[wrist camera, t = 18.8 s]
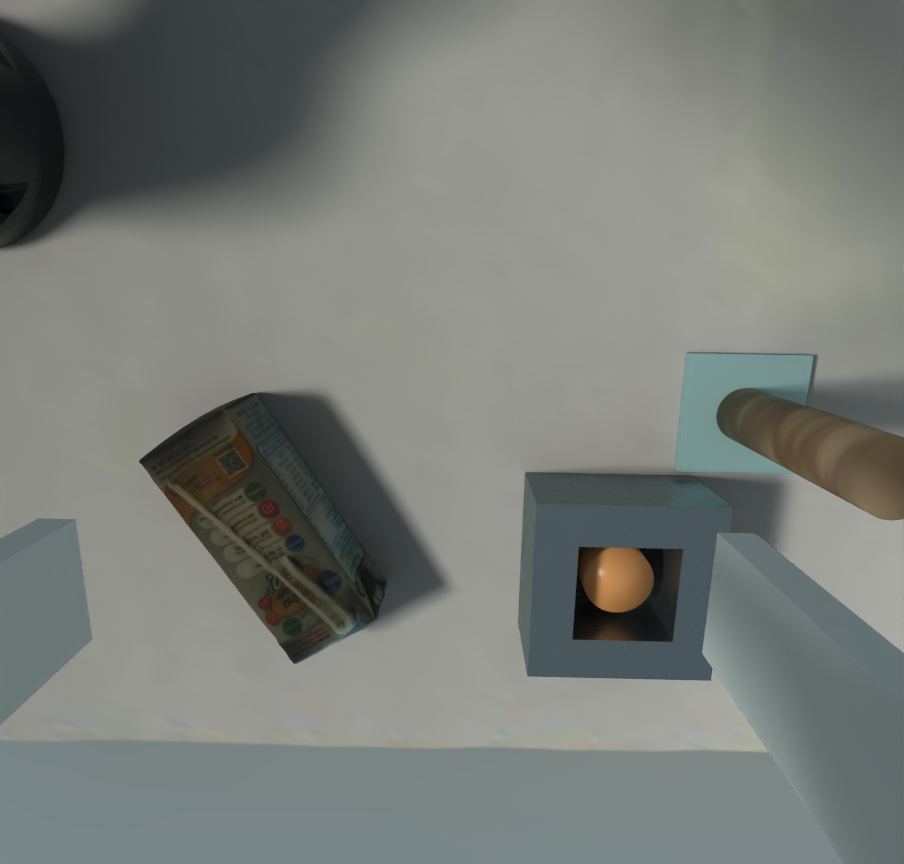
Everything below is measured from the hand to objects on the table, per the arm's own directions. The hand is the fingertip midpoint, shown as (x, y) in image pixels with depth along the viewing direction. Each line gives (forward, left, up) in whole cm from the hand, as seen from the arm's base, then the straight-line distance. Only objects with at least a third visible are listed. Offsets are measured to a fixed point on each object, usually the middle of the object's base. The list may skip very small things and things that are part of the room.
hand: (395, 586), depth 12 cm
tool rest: (+2, +23, -33) cm, 40 cm away
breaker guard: (+14, +13, -33) cm, 38 cm away
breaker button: (+14, +13, -33) cm, 38 cm away
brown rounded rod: (+2, +23, -32) cm, 39 cm away
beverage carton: (+11, -12, -33) cm, 37 cm away
